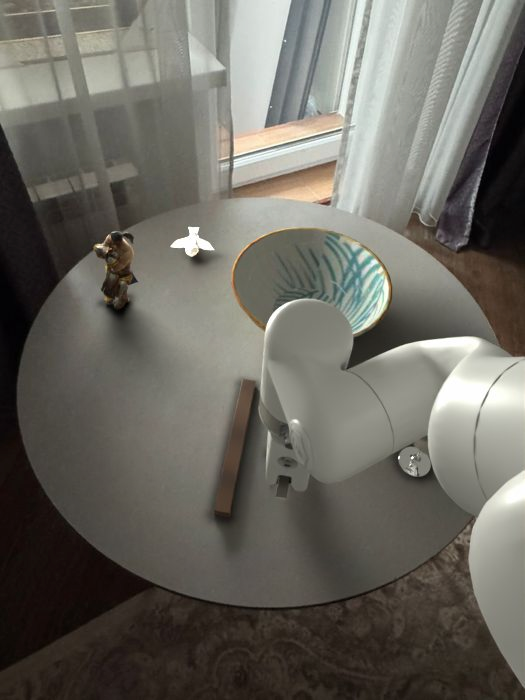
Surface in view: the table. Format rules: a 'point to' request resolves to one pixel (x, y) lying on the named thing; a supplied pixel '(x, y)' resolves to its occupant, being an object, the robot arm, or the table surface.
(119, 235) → the figurine
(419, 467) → the wineglass
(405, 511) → the table surface
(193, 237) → the toy bird
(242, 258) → the bowl
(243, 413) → the rail
